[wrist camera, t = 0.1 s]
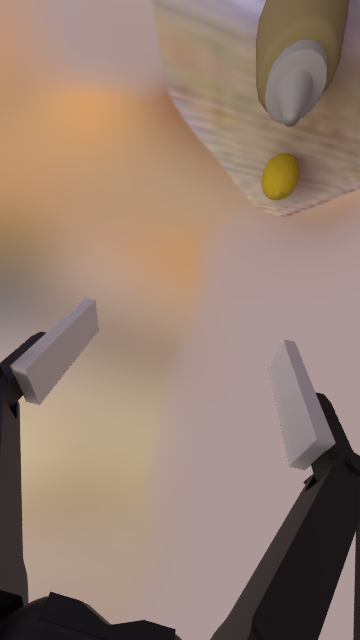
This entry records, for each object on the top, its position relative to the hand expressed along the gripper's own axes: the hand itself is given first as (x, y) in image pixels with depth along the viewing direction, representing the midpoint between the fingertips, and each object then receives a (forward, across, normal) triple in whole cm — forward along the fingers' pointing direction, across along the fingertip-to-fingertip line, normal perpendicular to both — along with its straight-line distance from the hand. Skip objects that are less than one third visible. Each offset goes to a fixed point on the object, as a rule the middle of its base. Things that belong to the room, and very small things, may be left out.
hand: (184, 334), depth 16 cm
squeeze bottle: (+27, +5, +24) cm, 37 cm away
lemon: (+35, +9, +12) cm, 39 cm away
